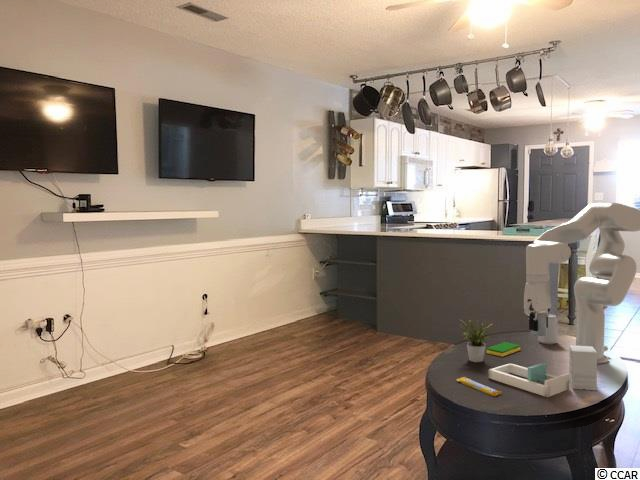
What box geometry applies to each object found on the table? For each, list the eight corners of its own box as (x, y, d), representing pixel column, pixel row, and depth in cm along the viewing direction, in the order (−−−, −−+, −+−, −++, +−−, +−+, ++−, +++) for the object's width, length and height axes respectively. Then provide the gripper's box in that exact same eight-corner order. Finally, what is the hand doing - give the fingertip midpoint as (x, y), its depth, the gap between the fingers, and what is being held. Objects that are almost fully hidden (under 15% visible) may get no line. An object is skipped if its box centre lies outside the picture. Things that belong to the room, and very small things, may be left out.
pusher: (542, 382, 172) (543, 362, 172) (557, 387, 168) (557, 366, 167) (527, 387, 168) (527, 367, 167) (542, 392, 163) (542, 371, 163)
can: (540, 344, 218) (541, 316, 217) (536, 339, 226) (536, 312, 225) (559, 345, 217) (560, 317, 216) (554, 340, 224) (555, 313, 224)
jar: (536, 331, 188) (536, 306, 187) (550, 333, 184) (549, 309, 183) (527, 333, 185) (526, 309, 184) (541, 336, 181) (540, 311, 180)
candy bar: (503, 396, 163) (503, 390, 163) (494, 398, 161) (494, 393, 161) (465, 380, 177) (465, 375, 177) (455, 382, 175) (455, 377, 175)
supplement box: (592, 383, 171) (593, 346, 170) (596, 391, 164) (597, 352, 163) (568, 381, 174) (569, 344, 173) (571, 388, 167) (572, 350, 166)
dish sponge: (520, 351, 211) (520, 345, 211) (502, 357, 202) (502, 351, 202) (504, 347, 217) (504, 341, 216) (486, 353, 208) (486, 348, 208)
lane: (510, 371, 185) (510, 357, 184) (569, 389, 167) (569, 373, 166) (488, 378, 178) (488, 363, 178) (547, 397, 160) (547, 381, 160)
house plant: (446, 360, 199) (446, 318, 198) (463, 352, 209) (464, 312, 208) (481, 368, 189) (482, 324, 188) (497, 359, 199) (498, 317, 198)
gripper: (542, 274, 191) (543, 322, 192) (513, 280, 181) (514, 331, 183) (561, 276, 184) (562, 326, 186) (532, 283, 175) (533, 335, 177)
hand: (538, 328), depth 184 cm, fingers closed on jar, 5 cm apart
